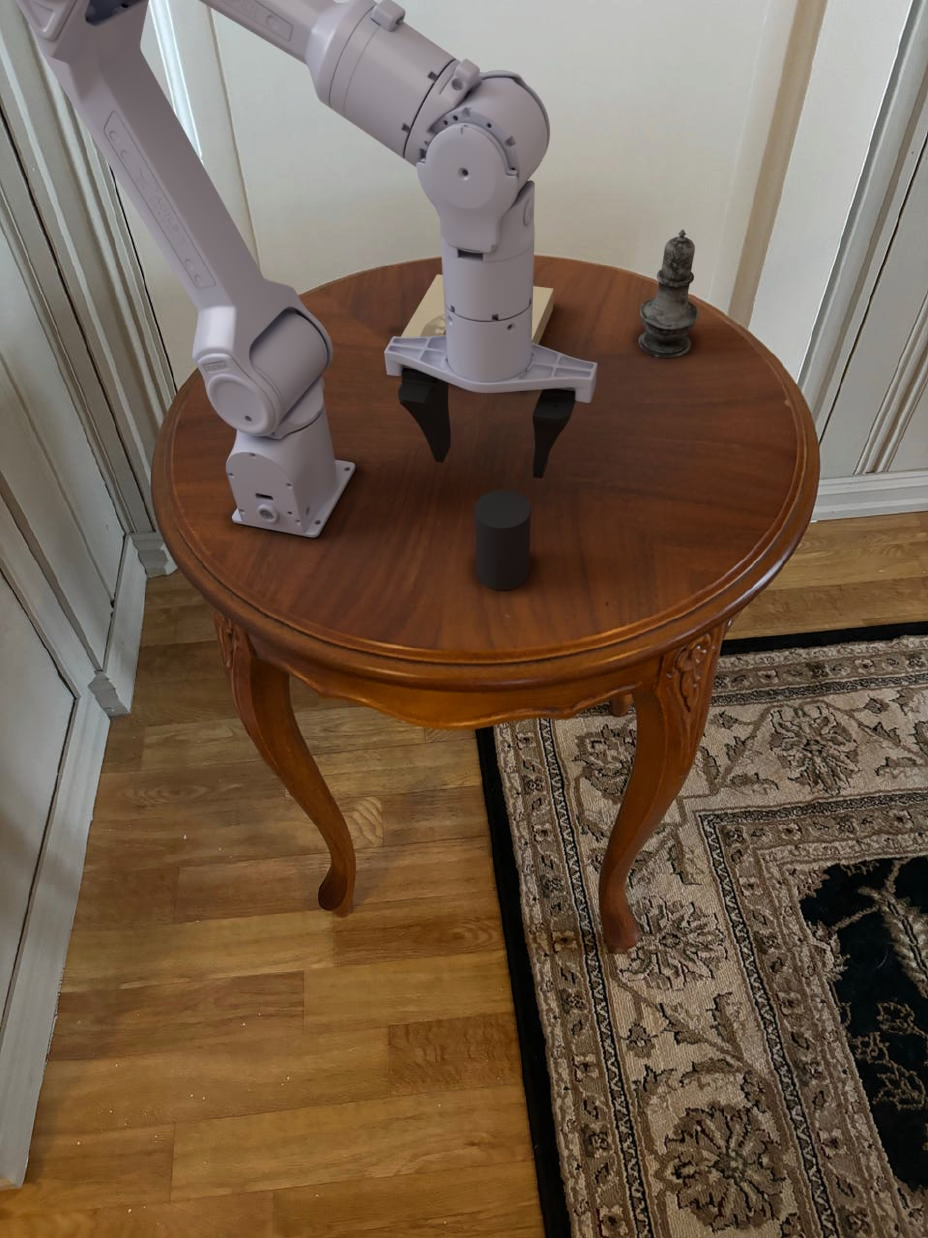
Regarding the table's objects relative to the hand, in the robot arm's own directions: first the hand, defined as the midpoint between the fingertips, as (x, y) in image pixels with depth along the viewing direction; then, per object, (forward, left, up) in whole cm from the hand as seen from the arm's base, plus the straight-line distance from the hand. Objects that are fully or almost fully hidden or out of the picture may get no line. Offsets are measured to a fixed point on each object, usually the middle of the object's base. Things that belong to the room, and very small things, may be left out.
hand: (491, 461), depth 67 cm
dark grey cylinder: (-3, -2, -9) cm, 9 cm away
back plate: (+28, +9, -9) cm, 31 cm away
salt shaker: (+32, -10, -9) cm, 35 cm away
